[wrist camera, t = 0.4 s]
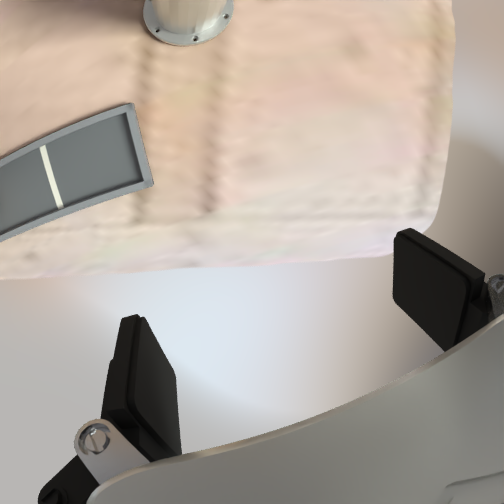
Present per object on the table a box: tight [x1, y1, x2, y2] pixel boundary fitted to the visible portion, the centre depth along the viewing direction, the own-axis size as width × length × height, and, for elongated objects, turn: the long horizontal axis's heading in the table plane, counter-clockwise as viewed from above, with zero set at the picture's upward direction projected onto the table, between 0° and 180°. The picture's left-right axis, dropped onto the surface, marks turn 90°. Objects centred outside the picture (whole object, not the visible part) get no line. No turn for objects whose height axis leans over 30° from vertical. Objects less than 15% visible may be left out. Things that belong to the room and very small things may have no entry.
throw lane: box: [0, 103, 154, 242], centre depth 36 cm, size 12×35×2 cm, turn 101°
